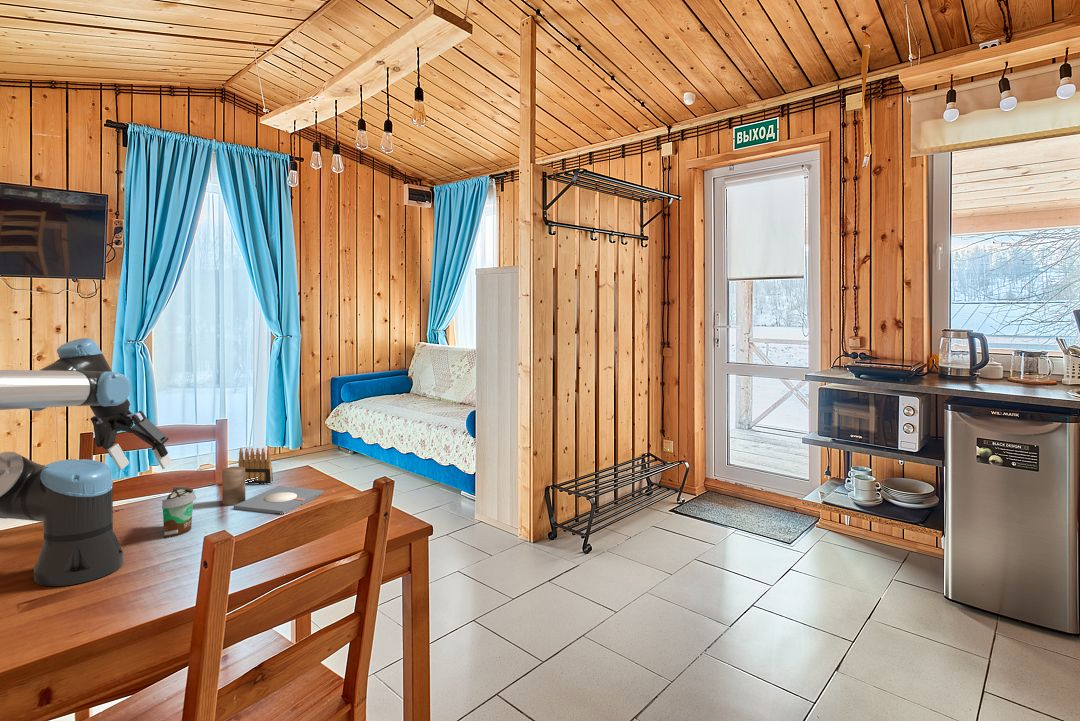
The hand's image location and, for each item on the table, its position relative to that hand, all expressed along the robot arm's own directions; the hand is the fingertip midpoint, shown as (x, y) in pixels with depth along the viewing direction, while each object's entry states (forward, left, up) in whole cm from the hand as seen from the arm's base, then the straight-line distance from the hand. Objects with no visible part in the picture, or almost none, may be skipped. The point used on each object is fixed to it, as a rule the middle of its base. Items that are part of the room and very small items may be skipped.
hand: (145, 466), depth 151 cm
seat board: (+25, -22, -15) cm, 36 cm away
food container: (-2, -13, -15) cm, 20 cm away
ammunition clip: (+38, -3, -15) cm, 41 cm away
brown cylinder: (+20, -10, -15) cm, 27 cm away
